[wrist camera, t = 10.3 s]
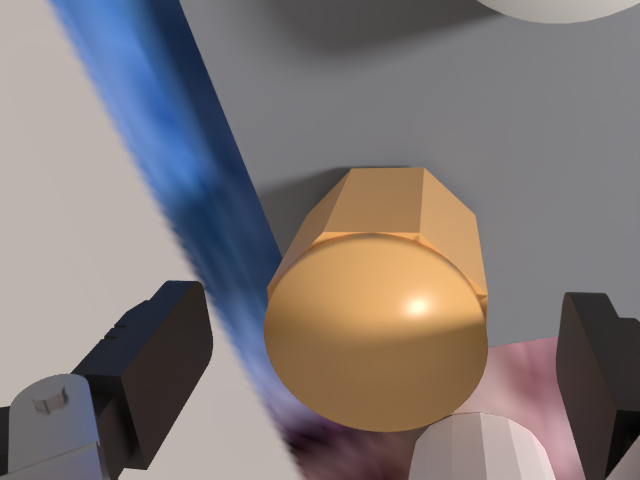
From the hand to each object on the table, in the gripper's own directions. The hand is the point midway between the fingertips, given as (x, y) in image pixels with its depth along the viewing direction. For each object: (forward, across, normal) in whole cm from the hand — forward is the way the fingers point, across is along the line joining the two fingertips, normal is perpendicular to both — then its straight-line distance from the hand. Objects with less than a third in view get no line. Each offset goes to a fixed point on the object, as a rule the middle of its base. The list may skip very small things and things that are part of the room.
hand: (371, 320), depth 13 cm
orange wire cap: (+4, 0, 0) cm, 4 cm away
